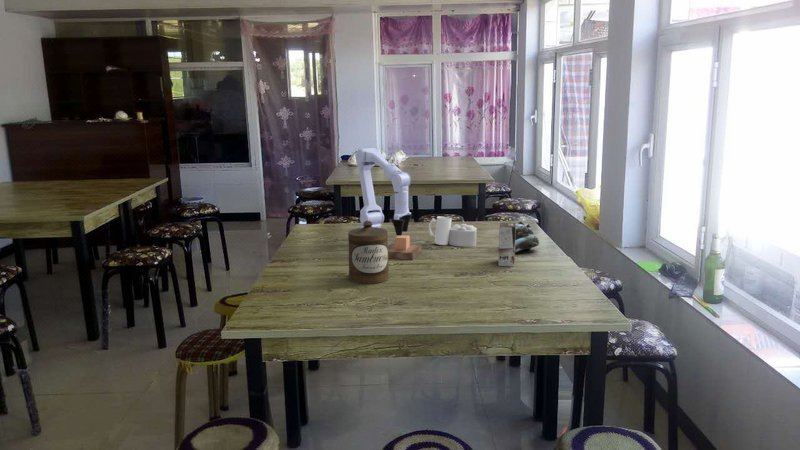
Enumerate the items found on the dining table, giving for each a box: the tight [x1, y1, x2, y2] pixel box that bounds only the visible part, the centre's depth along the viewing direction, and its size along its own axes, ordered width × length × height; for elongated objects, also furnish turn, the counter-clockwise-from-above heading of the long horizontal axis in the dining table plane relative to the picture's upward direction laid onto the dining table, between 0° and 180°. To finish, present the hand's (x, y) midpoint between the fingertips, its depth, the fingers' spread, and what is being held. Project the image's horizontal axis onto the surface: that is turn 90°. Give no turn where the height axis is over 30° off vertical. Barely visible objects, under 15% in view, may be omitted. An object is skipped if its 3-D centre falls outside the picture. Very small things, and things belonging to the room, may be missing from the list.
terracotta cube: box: [394, 234, 411, 250], centre depth 274 cm, size 5×5×5 cm
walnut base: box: [388, 242, 423, 261], centre depth 275 cm, size 14×14×3 cm
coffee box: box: [498, 222, 517, 267], centre depth 259 cm, size 9×6×16 cm
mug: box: [428, 215, 453, 246], centre depth 292 cm, size 10×7×12 cm, turn 74°
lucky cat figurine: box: [515, 221, 540, 254], centre depth 280 cm, size 15×12×14 cm
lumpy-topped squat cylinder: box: [448, 223, 478, 248], centre depth 292 cm, size 10×13×9 cm
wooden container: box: [347, 221, 390, 285], centre depth 239 cm, size 15×15×22 cm
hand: (401, 233), depth 273 cm, fingers open, 7 cm apart
